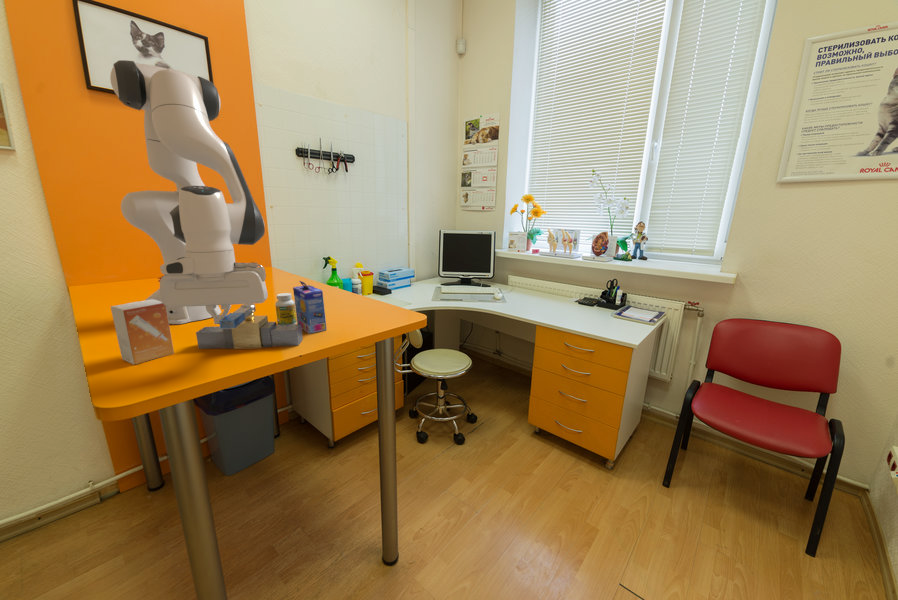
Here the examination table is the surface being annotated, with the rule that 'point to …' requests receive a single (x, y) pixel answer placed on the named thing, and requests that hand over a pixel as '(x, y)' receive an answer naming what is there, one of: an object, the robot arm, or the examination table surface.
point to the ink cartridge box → (310, 308)
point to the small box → (142, 330)
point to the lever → (237, 316)
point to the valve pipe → (250, 335)
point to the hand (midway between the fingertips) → (221, 323)
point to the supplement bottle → (285, 309)
